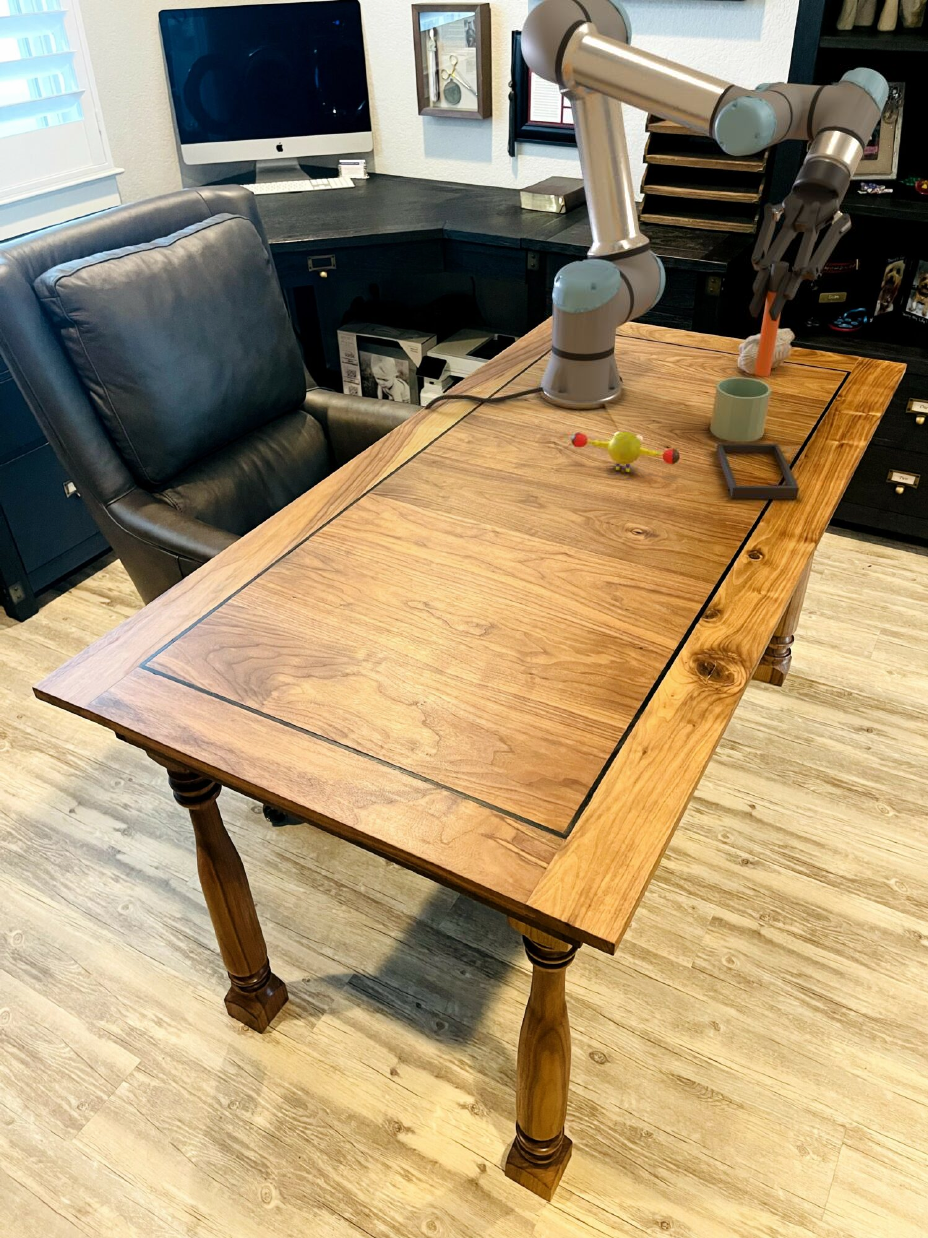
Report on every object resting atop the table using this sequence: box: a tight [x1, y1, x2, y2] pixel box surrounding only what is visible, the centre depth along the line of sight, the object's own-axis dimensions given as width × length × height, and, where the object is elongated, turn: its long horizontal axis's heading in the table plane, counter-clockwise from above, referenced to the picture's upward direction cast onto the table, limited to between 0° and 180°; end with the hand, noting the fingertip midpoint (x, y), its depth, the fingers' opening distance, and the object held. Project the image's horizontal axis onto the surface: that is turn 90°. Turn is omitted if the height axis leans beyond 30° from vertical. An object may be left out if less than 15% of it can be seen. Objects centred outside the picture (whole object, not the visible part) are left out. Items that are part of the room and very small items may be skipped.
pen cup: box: [709, 376, 772, 443], centre depth 166 cm, size 9×9×8 cm
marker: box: [754, 260, 790, 377], centre depth 147 cm, size 2×2×17 cm
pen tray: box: [716, 443, 800, 500], centre depth 155 cm, size 15×10×2 cm, turn 177°
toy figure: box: [570, 431, 681, 474], centre depth 156 cm, size 18×6×7 cm, turn 65°
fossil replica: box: [737, 328, 796, 375], centre depth 189 cm, size 12×8×10 cm
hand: (762, 314), depth 143 cm, fingers closed on marker, 2 cm apart
